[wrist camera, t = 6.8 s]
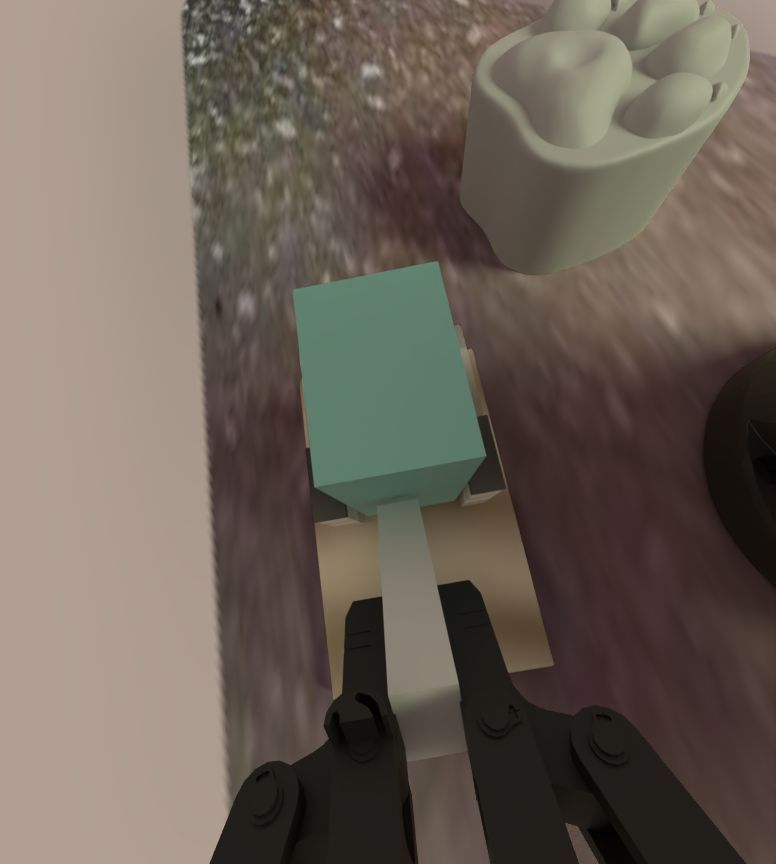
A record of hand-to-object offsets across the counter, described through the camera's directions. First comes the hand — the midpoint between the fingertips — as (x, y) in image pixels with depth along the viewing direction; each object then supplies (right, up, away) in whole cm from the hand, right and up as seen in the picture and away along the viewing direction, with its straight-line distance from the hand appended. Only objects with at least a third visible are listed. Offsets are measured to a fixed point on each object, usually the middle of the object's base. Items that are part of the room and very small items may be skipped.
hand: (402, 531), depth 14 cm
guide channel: (+1, 0, +6) cm, 6 cm away
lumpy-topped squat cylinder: (+11, +19, +11) cm, 25 cm away
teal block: (0, +3, +6) cm, 6 cm away
